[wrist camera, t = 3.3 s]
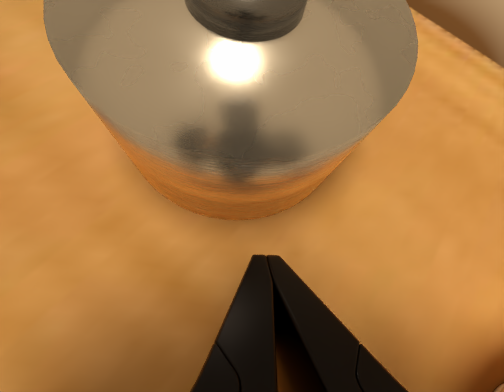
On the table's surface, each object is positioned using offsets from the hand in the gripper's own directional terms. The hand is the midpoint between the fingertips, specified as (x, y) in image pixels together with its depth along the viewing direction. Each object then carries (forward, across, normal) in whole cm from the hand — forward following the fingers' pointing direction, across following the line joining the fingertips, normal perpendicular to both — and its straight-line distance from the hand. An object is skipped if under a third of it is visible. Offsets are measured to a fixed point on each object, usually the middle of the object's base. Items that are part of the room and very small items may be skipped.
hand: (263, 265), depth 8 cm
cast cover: (+12, +1, -3) cm, 13 cm away
